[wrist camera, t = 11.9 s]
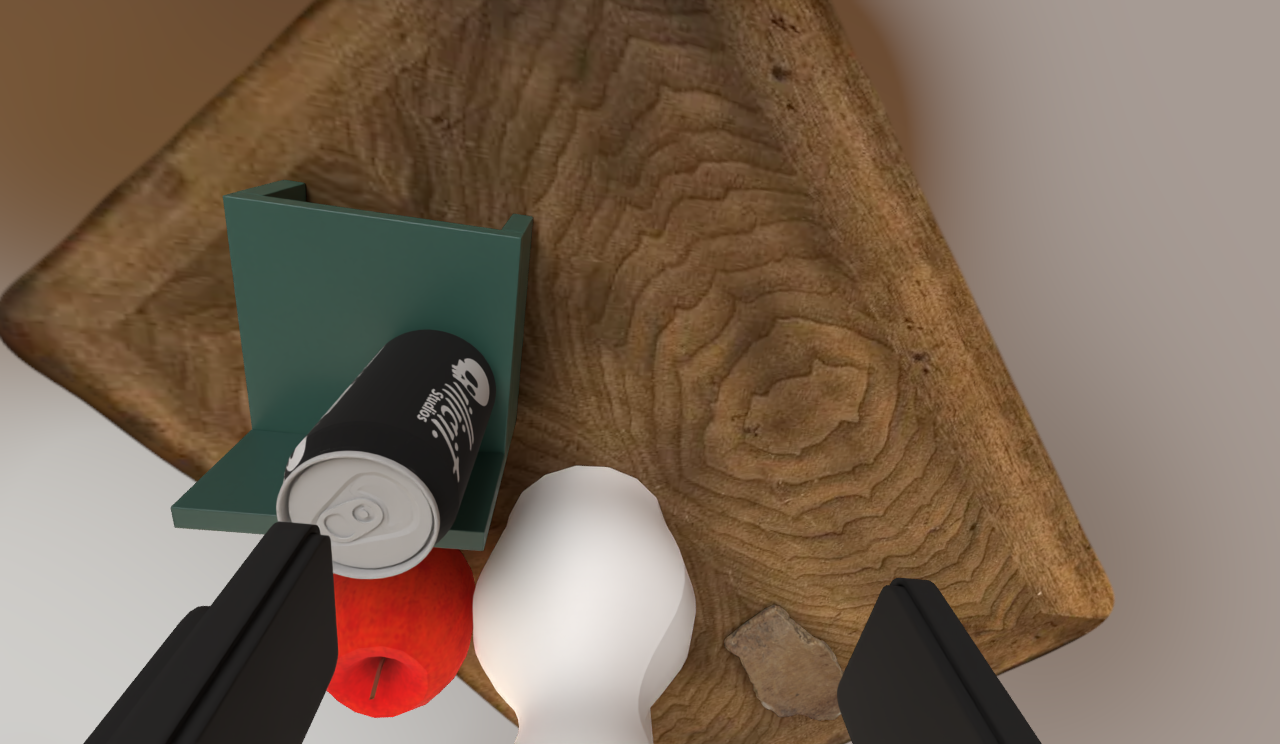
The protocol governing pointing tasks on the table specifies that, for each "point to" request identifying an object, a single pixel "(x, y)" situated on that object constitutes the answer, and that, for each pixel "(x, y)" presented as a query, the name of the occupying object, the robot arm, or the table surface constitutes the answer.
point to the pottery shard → (787, 665)
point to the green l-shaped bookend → (355, 335)
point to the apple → (402, 634)
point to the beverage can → (393, 454)
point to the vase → (583, 609)
